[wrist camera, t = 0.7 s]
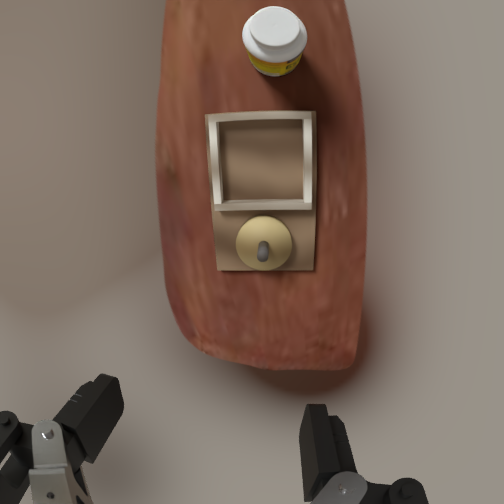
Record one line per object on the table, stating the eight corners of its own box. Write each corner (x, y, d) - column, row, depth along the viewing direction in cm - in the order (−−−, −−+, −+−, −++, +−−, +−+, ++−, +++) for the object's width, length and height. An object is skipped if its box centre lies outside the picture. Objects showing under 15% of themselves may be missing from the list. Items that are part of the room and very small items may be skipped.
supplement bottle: (288, 85, 28) (294, 66, 18) (241, 66, 27) (227, 41, 18) (307, 45, 25) (321, 13, 16) (261, 27, 25) (256, -10, 15)
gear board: (206, 114, 30) (193, 112, 25) (314, 111, 28) (322, 108, 24) (218, 266, 37) (210, 289, 32) (312, 266, 36) (317, 289, 31)
